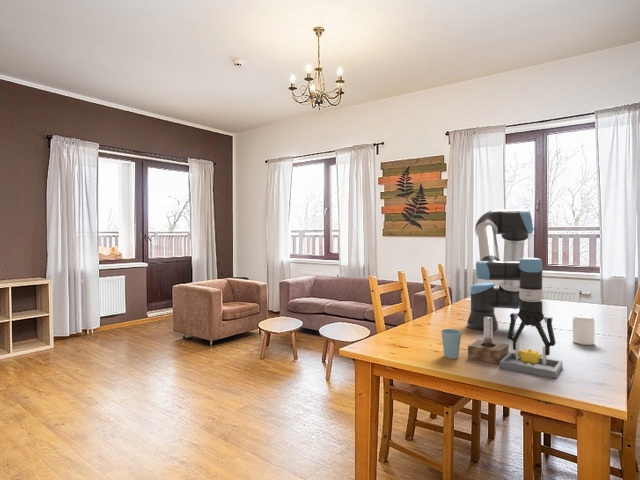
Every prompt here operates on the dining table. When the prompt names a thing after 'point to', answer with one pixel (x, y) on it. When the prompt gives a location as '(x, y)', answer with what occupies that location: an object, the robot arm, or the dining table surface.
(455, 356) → the cup
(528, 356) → the teapot
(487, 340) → the pin
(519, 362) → the tray
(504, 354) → the wooden square hole block
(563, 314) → the dining table surface
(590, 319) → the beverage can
